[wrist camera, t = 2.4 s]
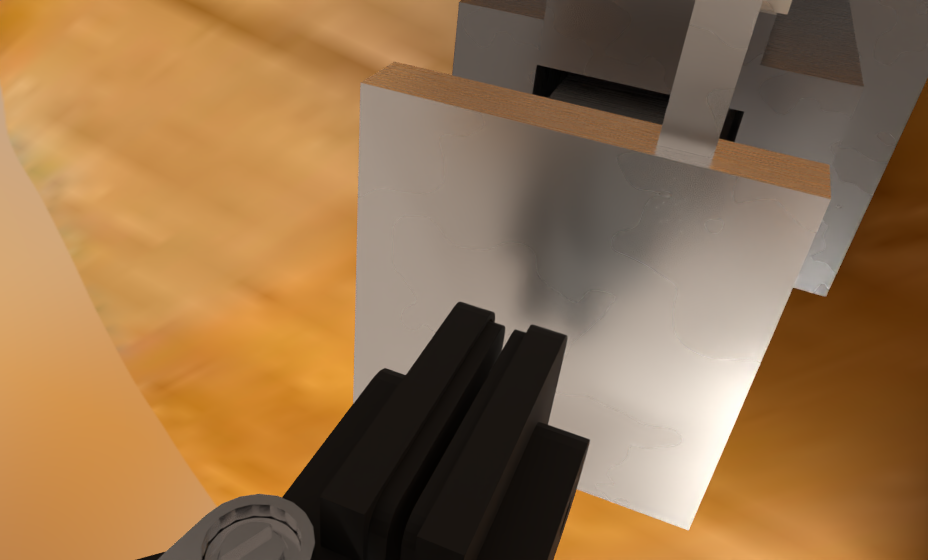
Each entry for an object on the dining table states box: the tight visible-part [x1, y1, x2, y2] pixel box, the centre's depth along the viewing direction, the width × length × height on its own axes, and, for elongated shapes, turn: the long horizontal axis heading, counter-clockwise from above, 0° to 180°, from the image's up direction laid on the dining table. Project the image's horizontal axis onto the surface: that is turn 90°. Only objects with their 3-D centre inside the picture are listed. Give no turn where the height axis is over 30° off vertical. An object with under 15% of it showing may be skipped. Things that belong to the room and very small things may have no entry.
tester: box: [452, 0, 928, 297], centre depth 21 cm, size 14×12×9 cm
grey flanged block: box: [353, 0, 831, 530], centre depth 16 cm, size 7×9×9 cm
